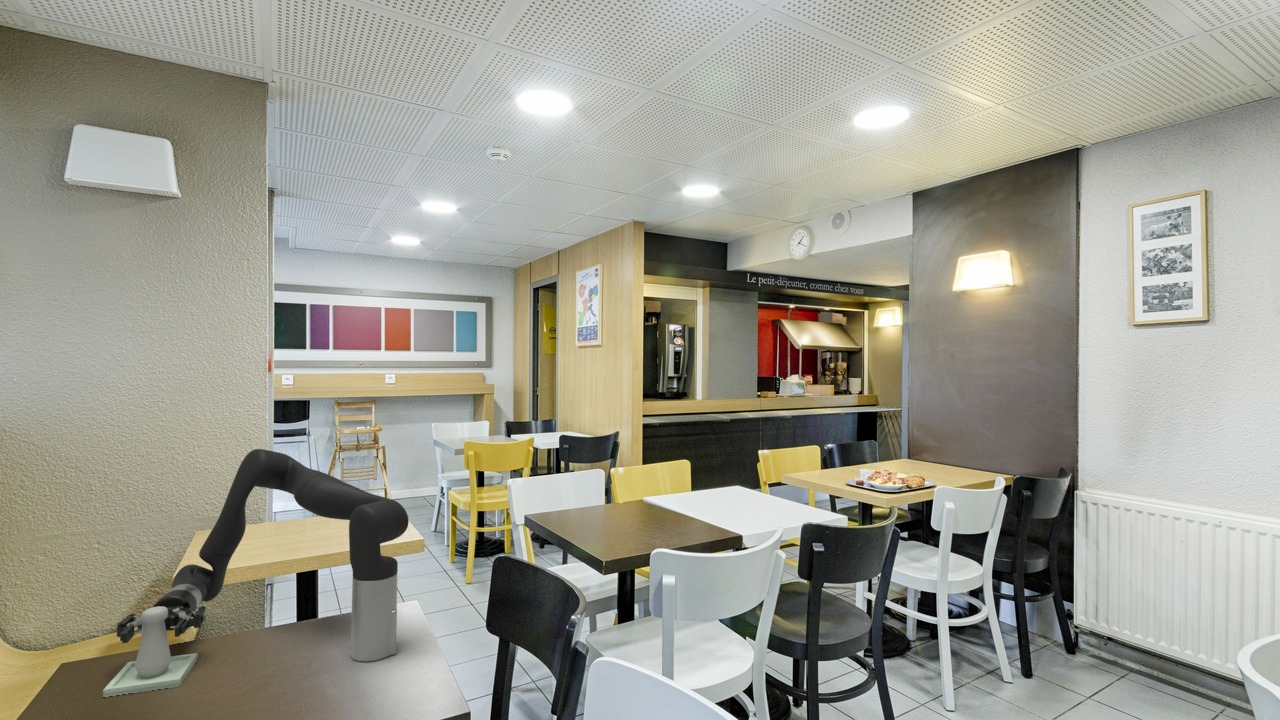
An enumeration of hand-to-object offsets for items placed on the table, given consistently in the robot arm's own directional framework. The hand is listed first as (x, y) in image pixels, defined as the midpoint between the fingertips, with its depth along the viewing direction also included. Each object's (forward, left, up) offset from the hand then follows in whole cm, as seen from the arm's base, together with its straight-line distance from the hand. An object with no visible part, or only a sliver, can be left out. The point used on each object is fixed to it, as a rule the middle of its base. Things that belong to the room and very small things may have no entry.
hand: (151, 635), depth 123 cm
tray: (0, -2, -9) cm, 9 cm away
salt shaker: (0, -2, -9) cm, 9 cm away
